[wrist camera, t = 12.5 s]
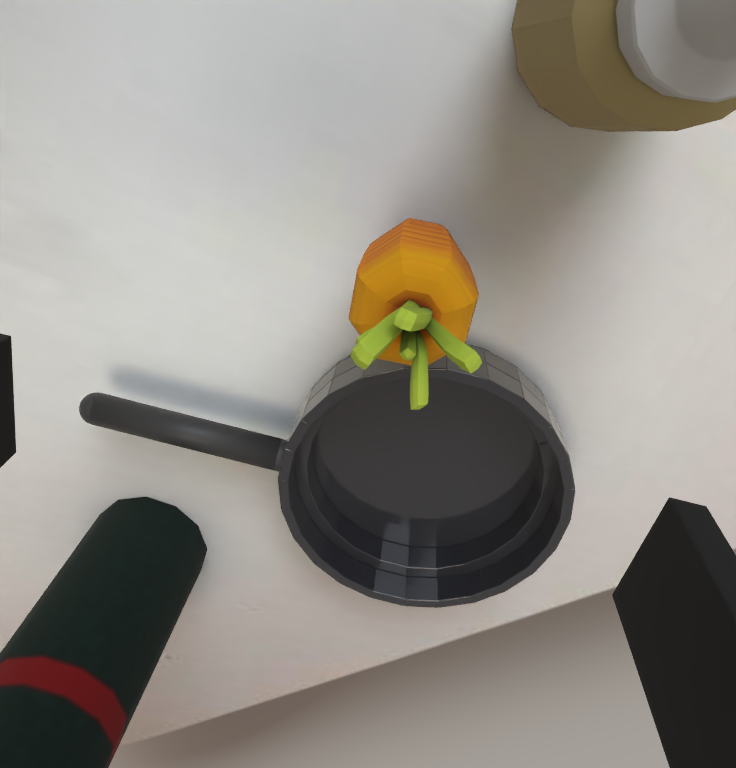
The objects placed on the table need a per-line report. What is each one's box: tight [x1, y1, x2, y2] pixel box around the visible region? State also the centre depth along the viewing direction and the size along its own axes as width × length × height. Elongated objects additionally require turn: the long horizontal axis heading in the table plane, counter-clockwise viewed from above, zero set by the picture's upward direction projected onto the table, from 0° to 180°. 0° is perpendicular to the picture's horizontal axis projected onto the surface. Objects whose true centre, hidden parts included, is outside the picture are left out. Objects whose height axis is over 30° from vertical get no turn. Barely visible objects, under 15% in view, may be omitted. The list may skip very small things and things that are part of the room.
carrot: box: [349, 218, 482, 410], centre depth 26 cm, size 5×5×15 cm
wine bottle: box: [0, 497, 207, 768], centre depth 31 cm, size 8×10×30 cm
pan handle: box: [79, 393, 287, 471], centre depth 36 cm, size 2×12×2 cm, turn 77°
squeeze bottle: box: [512, 0, 736, 132], centre depth 20 cm, size 8×8×18 cm
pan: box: [278, 344, 575, 608], centre depth 37 cm, size 16×16×4 cm
